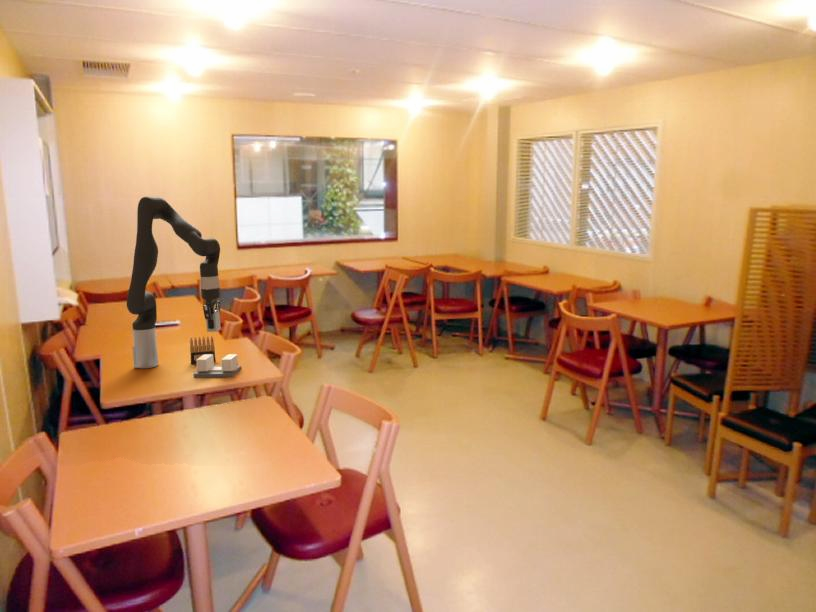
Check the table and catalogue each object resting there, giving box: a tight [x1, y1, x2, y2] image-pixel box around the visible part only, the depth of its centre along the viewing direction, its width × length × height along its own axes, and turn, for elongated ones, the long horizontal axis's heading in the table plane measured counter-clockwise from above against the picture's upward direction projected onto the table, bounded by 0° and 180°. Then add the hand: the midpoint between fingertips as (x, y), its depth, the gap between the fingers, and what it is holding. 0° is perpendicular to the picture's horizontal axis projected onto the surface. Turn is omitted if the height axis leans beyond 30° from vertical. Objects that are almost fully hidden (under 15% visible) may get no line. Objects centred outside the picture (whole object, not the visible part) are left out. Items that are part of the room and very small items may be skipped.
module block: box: [205, 311, 222, 333], centre depth 252 cm, size 4×5×8 cm
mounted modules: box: [196, 353, 239, 372], centre depth 255 cm, size 14×9×5 cm, turn 88°
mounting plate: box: [193, 365, 242, 379], centre depth 256 cm, size 16×13×2 cm
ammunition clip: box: [189, 335, 217, 365], centre depth 273 cm, size 11×2×12 cm, turn 108°
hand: (213, 327), depth 252 cm, fingers closed on module block, 5 cm apart
